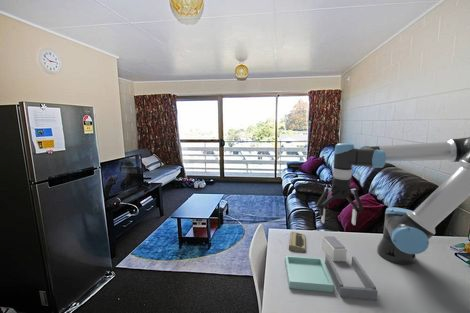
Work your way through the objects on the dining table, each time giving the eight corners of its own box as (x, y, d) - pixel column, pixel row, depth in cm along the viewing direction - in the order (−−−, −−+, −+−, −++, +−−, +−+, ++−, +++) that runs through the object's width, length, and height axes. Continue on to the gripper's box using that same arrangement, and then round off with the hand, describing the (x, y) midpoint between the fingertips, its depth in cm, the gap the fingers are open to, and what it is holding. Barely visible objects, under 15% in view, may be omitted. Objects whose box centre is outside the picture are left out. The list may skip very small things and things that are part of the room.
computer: (305, 253, 116) (306, 246, 116) (288, 250, 119) (288, 244, 118) (305, 238, 131) (305, 232, 131) (290, 236, 134) (290, 230, 133)
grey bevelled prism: (333, 247, 121) (334, 235, 120) (345, 261, 109) (346, 248, 109) (321, 247, 121) (322, 235, 120) (332, 261, 109) (334, 248, 108)
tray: (321, 264, 107) (321, 258, 106) (333, 292, 89) (333, 285, 89) (284, 261, 108) (285, 255, 108) (289, 288, 91) (289, 281, 90)
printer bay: (354, 265, 106) (354, 256, 106) (376, 300, 85) (377, 289, 85) (325, 263, 108) (325, 254, 107) (340, 296, 87) (341, 286, 86)
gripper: (367, 177, 110) (363, 221, 113) (311, 174, 112) (308, 218, 115) (375, 181, 102) (370, 228, 105) (314, 178, 105) (311, 224, 108)
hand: (338, 223), depth 110 cm, fingers open, 13 cm apart
